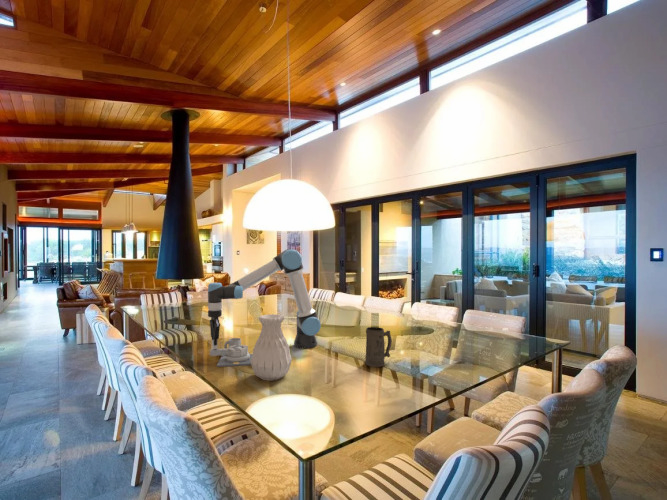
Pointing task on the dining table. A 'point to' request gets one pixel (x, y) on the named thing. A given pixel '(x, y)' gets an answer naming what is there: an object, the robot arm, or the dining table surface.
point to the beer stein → (376, 346)
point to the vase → (271, 350)
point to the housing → (235, 360)
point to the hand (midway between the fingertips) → (214, 350)
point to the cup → (233, 342)
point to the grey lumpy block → (230, 351)
